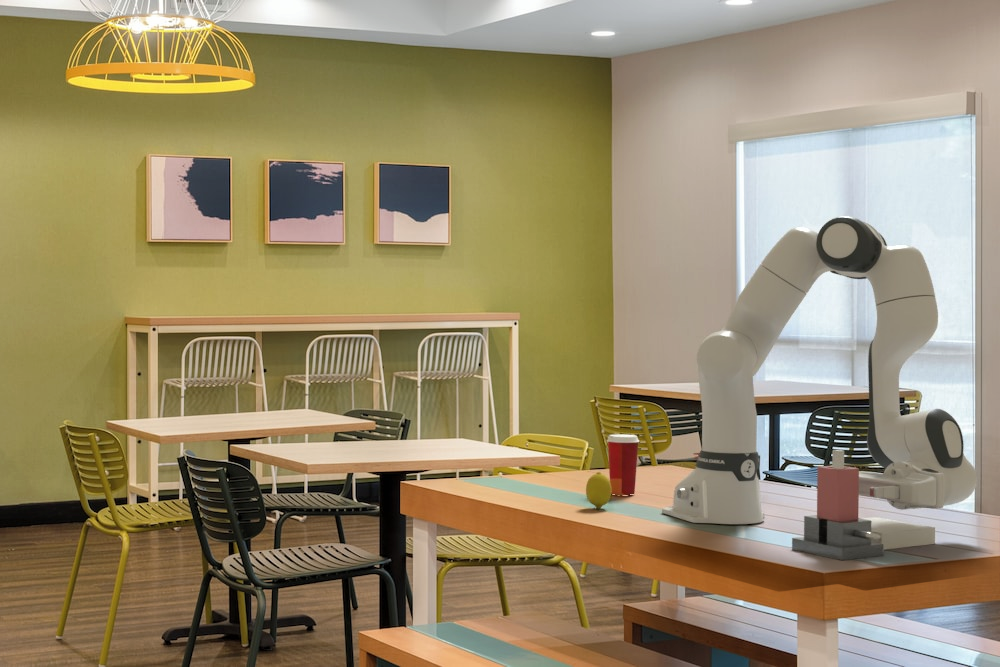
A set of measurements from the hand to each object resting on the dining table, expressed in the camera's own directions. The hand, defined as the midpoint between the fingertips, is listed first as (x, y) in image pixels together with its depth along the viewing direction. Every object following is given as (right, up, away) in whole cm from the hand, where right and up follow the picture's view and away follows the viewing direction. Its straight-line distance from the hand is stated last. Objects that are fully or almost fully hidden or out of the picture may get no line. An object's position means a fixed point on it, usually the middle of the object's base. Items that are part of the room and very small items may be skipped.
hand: (852, 489), depth 220 cm
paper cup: (-34, -10, +70) cm, 79 cm away
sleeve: (-3, -5, -2) cm, 6 cm away
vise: (-2, -11, -3) cm, 12 cm away
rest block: (+8, -11, +11) cm, 17 cm away
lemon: (-42, -11, +48) cm, 64 cm away
